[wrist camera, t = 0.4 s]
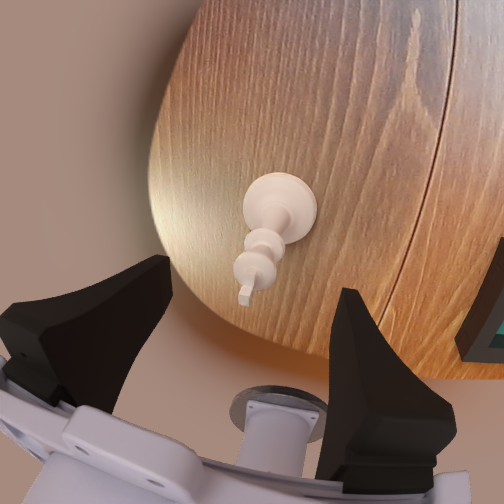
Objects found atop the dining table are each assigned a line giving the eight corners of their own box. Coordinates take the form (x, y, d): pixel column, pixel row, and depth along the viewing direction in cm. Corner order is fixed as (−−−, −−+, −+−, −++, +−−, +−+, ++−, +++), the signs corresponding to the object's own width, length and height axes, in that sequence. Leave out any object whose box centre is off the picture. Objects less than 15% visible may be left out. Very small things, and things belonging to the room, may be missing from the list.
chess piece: (239, 232, 23) (185, 326, 14) (249, 165, 20) (187, 231, 12) (307, 248, 22) (290, 354, 14) (324, 181, 20) (319, 262, 11)
